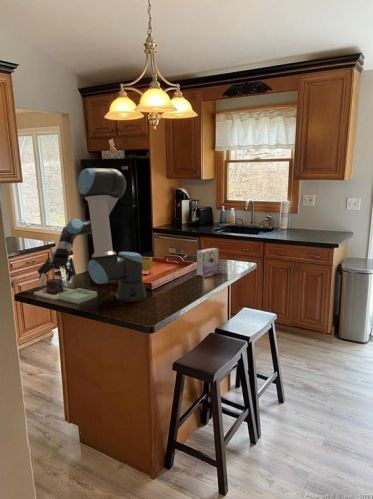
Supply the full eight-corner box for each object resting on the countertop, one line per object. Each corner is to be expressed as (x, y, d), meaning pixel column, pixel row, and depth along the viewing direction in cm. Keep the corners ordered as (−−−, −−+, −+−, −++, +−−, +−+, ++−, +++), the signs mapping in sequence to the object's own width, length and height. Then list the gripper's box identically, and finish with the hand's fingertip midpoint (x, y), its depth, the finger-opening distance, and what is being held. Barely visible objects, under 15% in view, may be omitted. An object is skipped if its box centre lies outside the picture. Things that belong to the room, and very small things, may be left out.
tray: (97, 296, 193) (96, 292, 192) (78, 304, 182) (77, 299, 181) (78, 292, 199) (78, 288, 199) (59, 299, 188) (59, 294, 188)
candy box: (211, 272, 240) (212, 247, 236) (218, 274, 235) (219, 248, 232) (196, 276, 231) (196, 250, 227) (203, 278, 226) (203, 251, 223)
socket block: (76, 292, 199) (76, 289, 199) (54, 299, 188) (54, 296, 187) (55, 287, 207) (55, 284, 207) (33, 294, 196) (33, 291, 195)
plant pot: (148, 276, 230) (148, 261, 228) (133, 275, 234) (132, 259, 232) (155, 272, 240) (154, 257, 238) (140, 271, 243) (140, 256, 241)
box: (57, 295, 194) (56, 282, 193) (46, 295, 195) (45, 281, 194) (63, 292, 200) (62, 278, 198) (53, 291, 201) (52, 278, 200)
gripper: (87, 255, 208) (78, 290, 196) (44, 254, 211) (32, 288, 199) (83, 248, 202) (73, 283, 190) (38, 247, 204) (26, 281, 193)
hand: (52, 285), depth 195 cm, fingers open, 13 cm apart
